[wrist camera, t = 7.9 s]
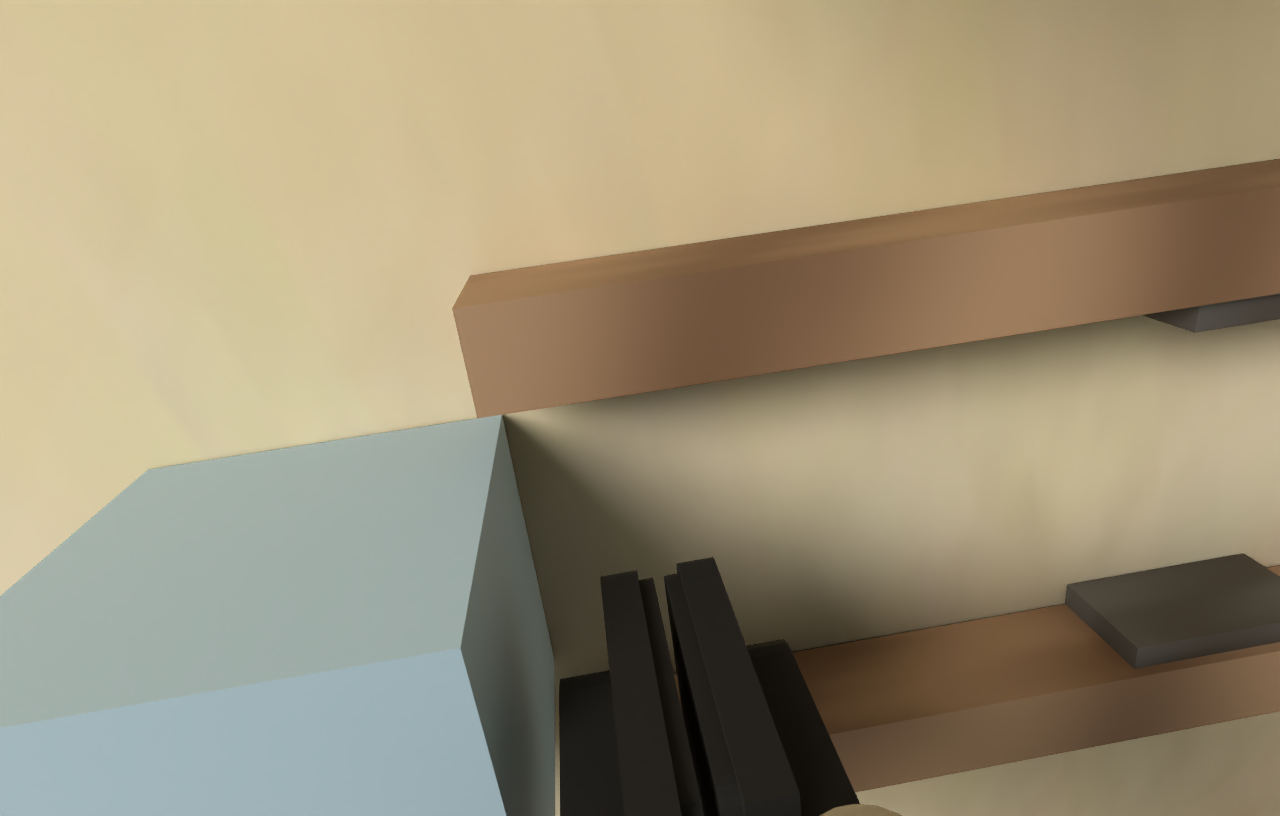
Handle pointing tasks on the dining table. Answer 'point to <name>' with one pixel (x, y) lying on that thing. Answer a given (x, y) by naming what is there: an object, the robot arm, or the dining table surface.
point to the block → (289, 641)
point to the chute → (925, 318)
